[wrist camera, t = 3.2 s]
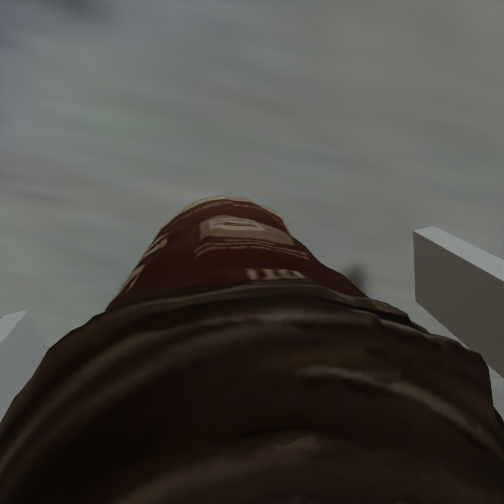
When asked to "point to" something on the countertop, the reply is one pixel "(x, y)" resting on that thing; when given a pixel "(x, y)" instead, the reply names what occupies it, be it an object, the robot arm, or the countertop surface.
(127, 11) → the countertop surface
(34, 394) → the coffee cup
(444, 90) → the countertop surface
